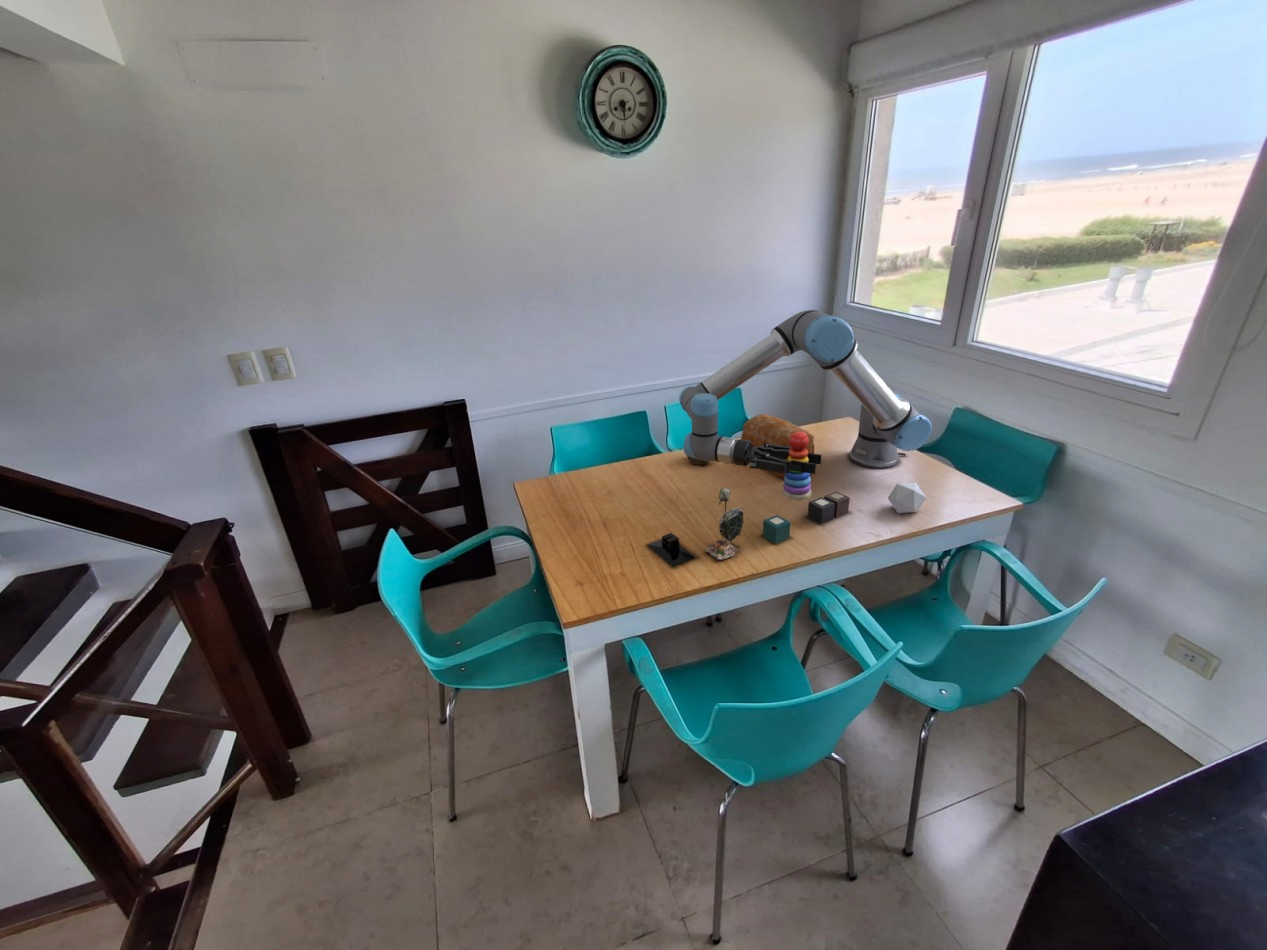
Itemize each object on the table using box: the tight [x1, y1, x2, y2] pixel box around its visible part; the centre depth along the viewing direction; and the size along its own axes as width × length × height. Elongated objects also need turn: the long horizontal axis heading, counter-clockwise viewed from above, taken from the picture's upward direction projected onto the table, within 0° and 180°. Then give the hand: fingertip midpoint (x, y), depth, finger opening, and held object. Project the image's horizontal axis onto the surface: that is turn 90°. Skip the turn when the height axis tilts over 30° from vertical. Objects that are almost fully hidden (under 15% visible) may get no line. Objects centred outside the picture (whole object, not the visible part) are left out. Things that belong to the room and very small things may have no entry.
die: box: [887, 482, 927, 514], centre depth 158 cm, size 8×9×10 cm
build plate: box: [647, 532, 696, 568], centre depth 147 cm, size 12×7×5 cm, turn 30°
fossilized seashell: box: [686, 455, 711, 466], centre depth 198 cm, size 8×7×10 cm
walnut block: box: [823, 490, 851, 518], centre depth 160 cm, size 5×5×5 cm
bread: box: [740, 413, 815, 479], centre depth 190 cm, size 14×26×16 cm, turn 26°
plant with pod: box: [704, 487, 745, 561], centre depth 143 cm, size 8×11×20 cm
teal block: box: [762, 514, 791, 545], centre depth 150 cm, size 5×5×5 cm
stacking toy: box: [781, 432, 813, 502], centre depth 152 cm, size 8×8×19 cm
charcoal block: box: [807, 496, 835, 525], centre depth 157 cm, size 5×5×5 cm
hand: (818, 464), depth 149 cm, fingers closed on stacking toy, 6 cm apart
